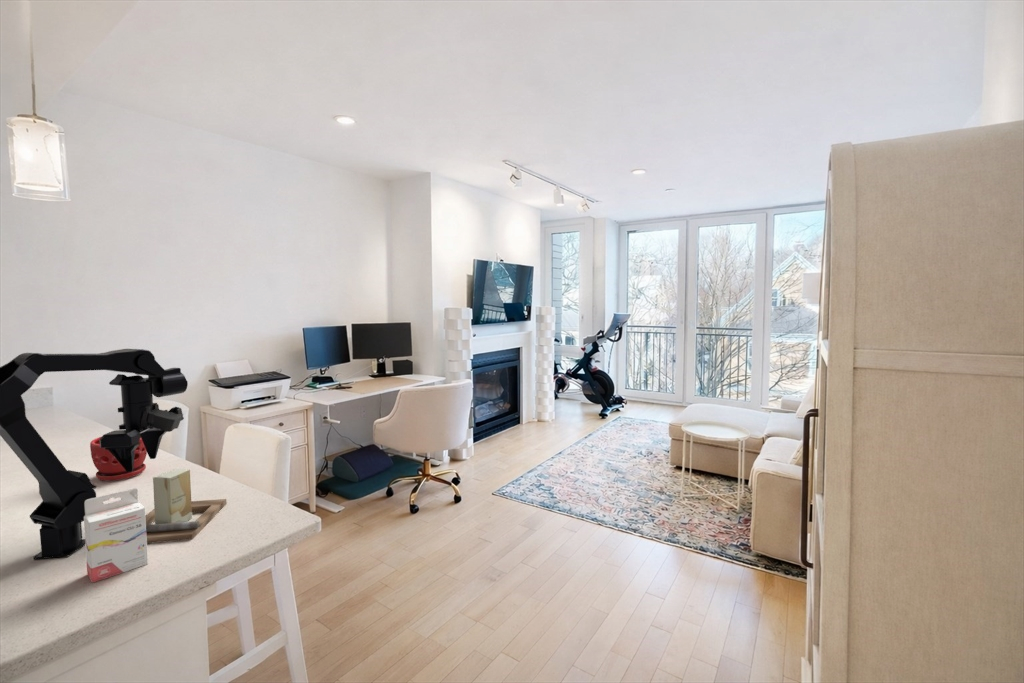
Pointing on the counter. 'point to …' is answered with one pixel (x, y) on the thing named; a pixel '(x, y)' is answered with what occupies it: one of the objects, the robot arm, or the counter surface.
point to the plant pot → (115, 462)
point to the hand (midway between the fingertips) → (141, 465)
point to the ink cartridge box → (114, 535)
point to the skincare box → (172, 496)
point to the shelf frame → (183, 523)
